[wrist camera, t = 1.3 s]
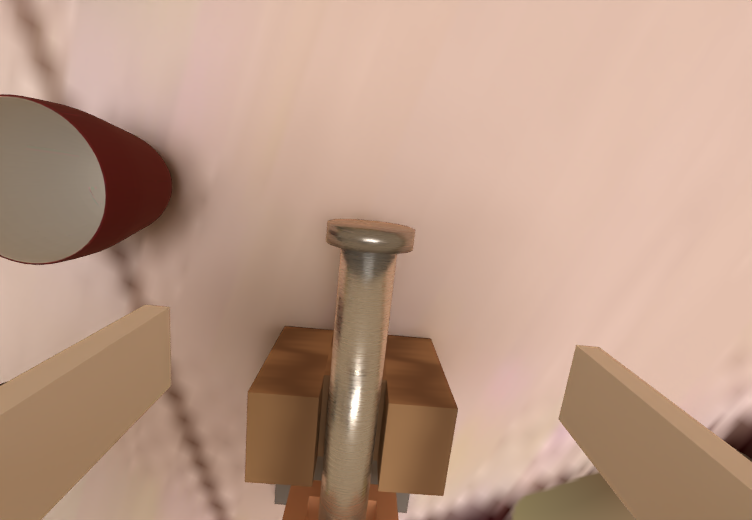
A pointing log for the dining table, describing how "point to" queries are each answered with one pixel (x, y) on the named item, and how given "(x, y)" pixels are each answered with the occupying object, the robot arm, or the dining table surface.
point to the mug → (72, 182)
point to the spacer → (306, 500)
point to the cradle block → (310, 402)
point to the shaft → (357, 359)
